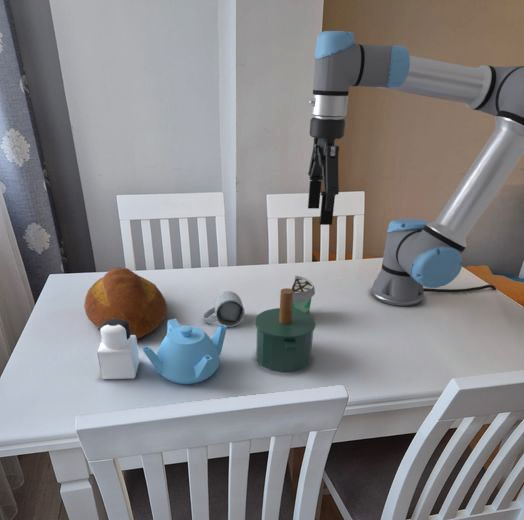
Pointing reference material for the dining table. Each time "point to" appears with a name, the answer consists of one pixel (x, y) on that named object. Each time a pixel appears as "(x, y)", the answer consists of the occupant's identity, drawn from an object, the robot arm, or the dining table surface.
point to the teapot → (187, 353)
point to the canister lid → (285, 319)
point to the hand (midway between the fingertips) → (319, 216)
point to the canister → (283, 352)
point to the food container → (302, 294)
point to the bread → (126, 301)
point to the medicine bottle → (117, 350)
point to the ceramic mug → (226, 310)
